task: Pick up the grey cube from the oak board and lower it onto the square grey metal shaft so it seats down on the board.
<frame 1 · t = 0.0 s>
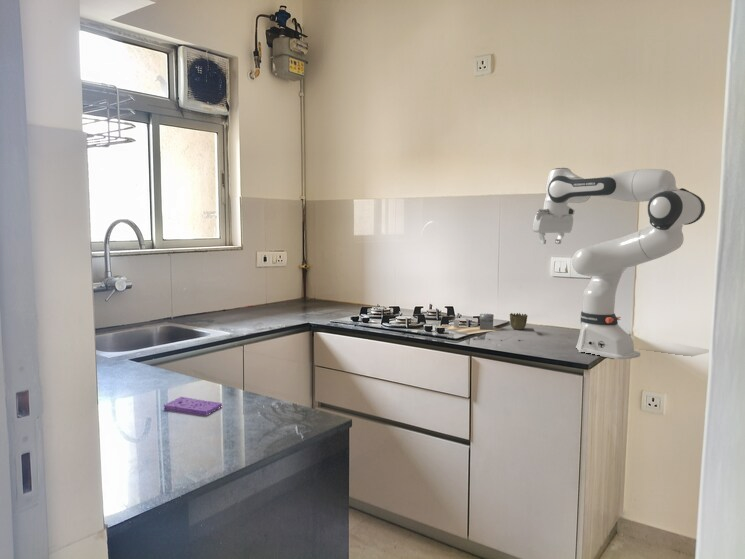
hand: (550, 243, 229), 39 cm above the counter, tool pointing down, fingers open, 8 cm apart
shaft: (456, 330, 249), resting on board
sponges: (193, 411, 143), on the counter
grey cube: (486, 328, 246), point 1 cm above the counter, touching board
board: (469, 331, 248), on the counter
cup: (517, 333, 246), on the counter
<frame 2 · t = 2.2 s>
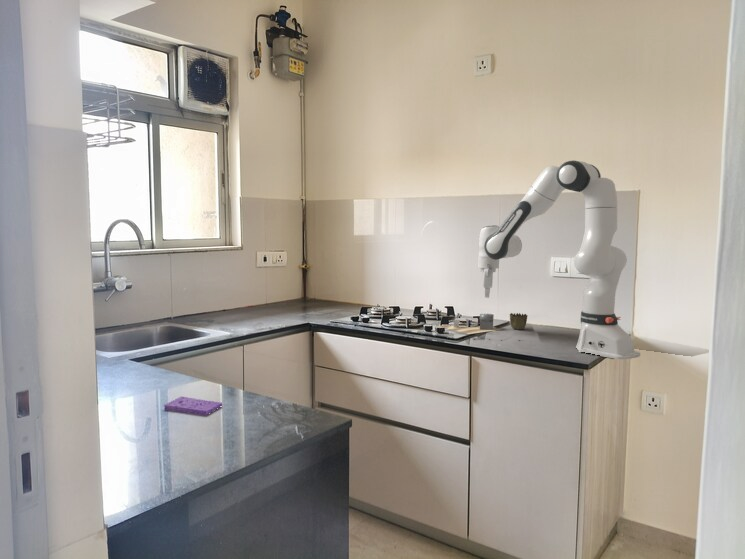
hand: (486, 295, 245), 16 cm above the counter, tool pointing down, fingers open, 8 cm apart
nothing on the counter moved.
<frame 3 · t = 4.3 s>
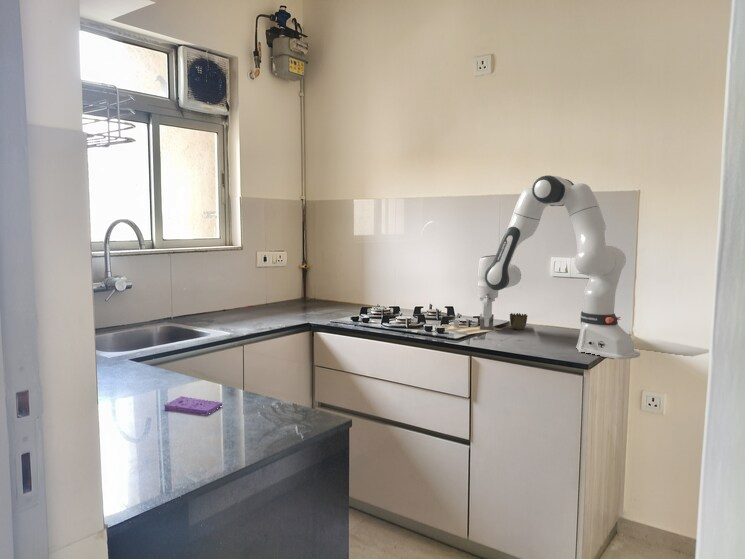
hand: (486, 324, 246), 3 cm above the counter, tool pointing down, fingers closed on grey cube, 6 cm apart
grey cube: (486, 328, 246), point 2 cm above the counter, touching board, gripper
everything else where it was.
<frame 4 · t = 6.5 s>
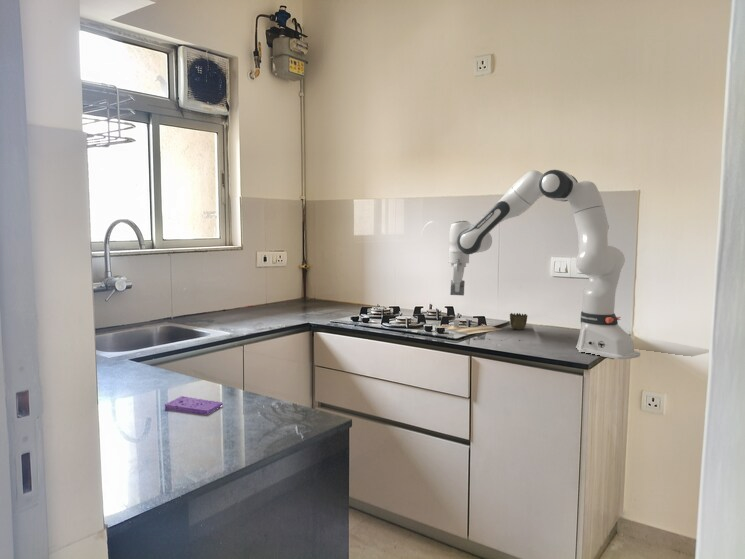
hand: (457, 290, 247), 17 cm above the counter, tool pointing down, fingers closed on grey cube, 6 cm apart
grey cube: (457, 294, 247), point 16 cm above the counter, touching gripper
everything else where it was.
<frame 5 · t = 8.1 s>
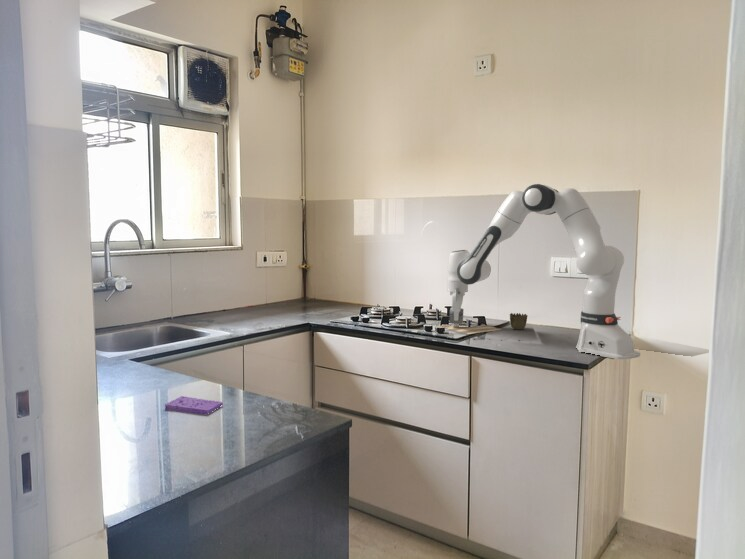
hand: (456, 319, 248), 5 cm above the counter, tool pointing down, fingers closed on grey cube, 6 cm apart
grey cube: (456, 322, 248), point 3 cm above the counter, touching gripper
everything else where it was.
when the fingers open (4 cm above the counter, at t = 9.2 s): grey cube moves 1 cm, resting on board.
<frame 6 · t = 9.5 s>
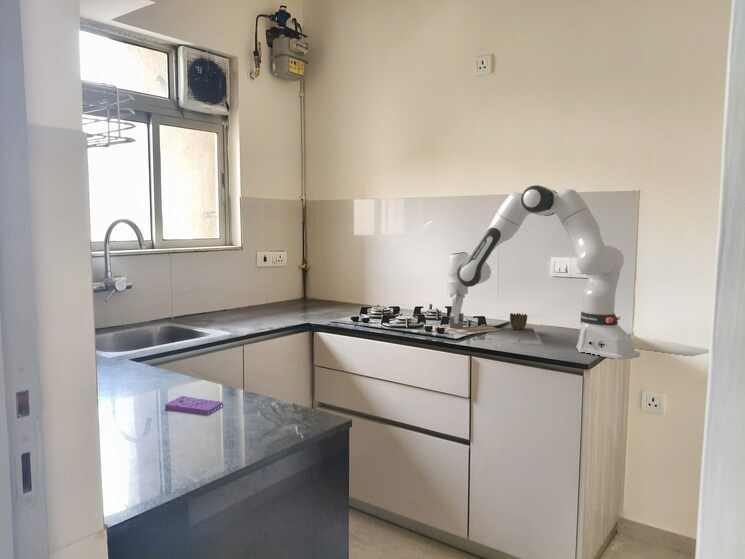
hand: (456, 321, 248), 4 cm above the counter, tool pointing down, fingers open, 8 cm apart
grey cube: (456, 327, 248), point 1 cm above the counter, touching board
everything else where it was.
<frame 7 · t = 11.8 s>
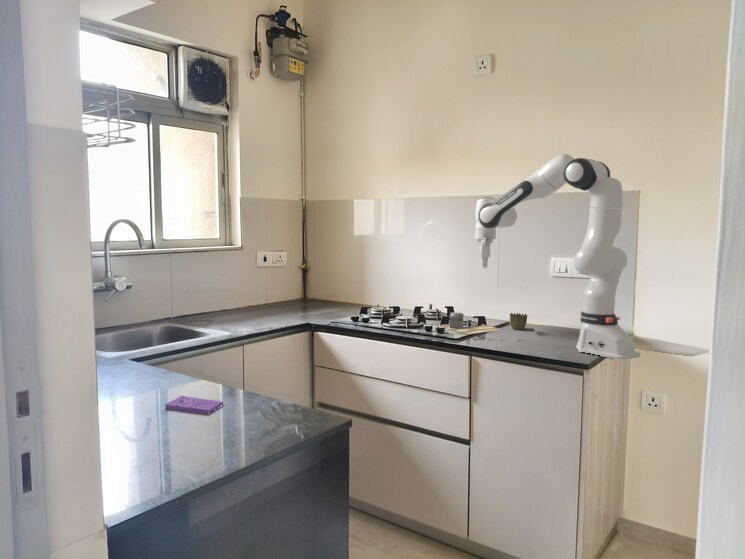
hand: (484, 267, 248), 28 cm above the counter, tool pointing down, fingers open, 8 cm apart
nothing on the counter moved.
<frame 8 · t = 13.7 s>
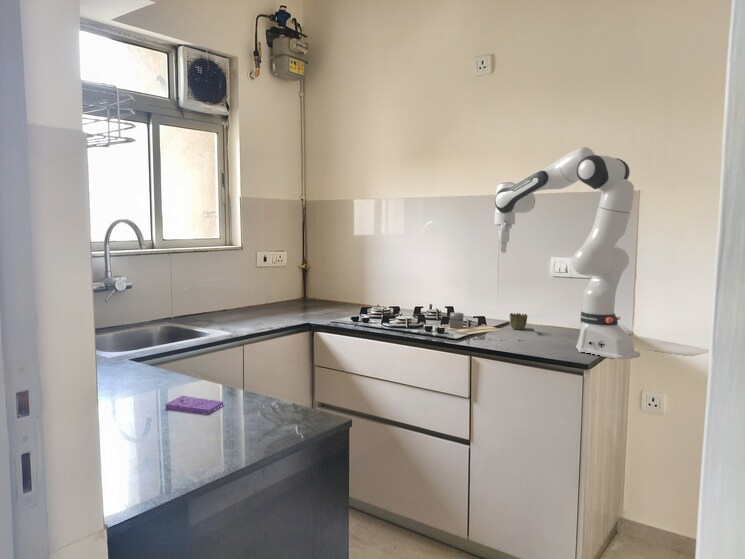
hand: (503, 252, 250), 34 cm above the counter, tool pointing down, fingers open, 8 cm apart
nothing on the counter moved.
at the end: grey cube 0.8 cm from the shaft (horizontally); grey cube point 1.5 cm above the counter; the gripper is holding nothing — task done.
